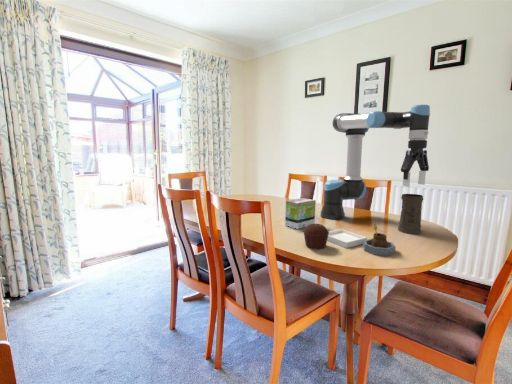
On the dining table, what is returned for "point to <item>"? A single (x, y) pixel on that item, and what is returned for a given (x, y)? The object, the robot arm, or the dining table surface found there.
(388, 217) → the dining table surface
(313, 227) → the muffin
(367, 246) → the grey octagonal ring
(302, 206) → the tea box
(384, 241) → the utensil holder
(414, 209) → the beer stein
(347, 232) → the tray
